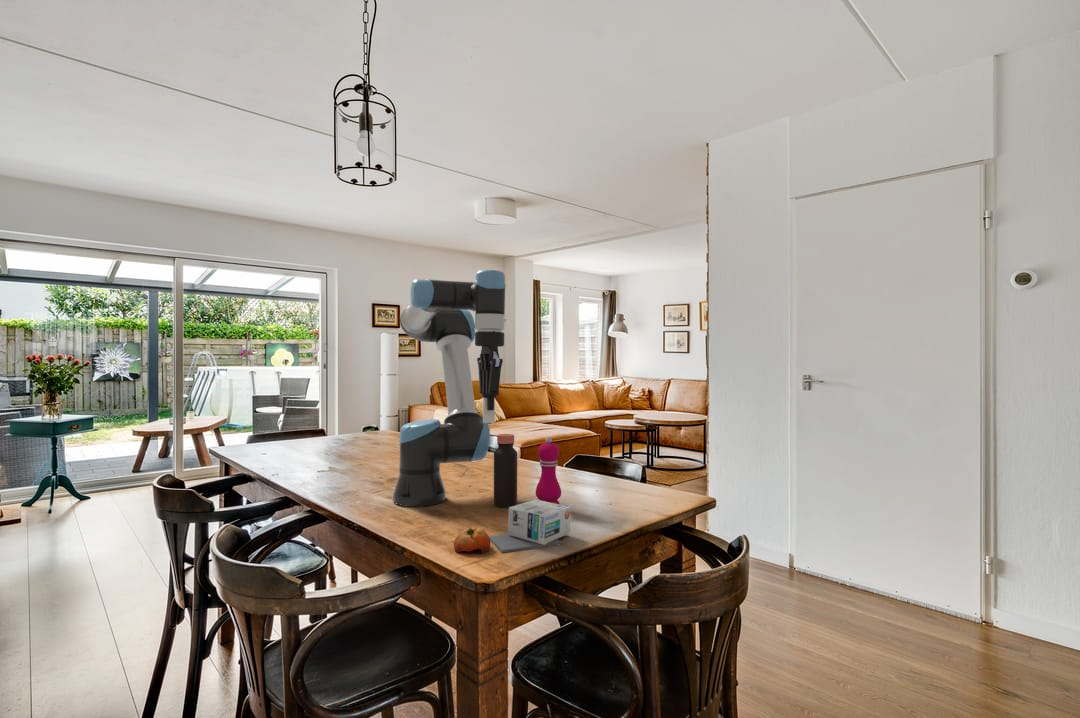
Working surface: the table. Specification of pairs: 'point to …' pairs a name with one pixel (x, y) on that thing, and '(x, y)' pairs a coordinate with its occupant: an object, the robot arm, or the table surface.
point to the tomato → (472, 540)
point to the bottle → (505, 472)
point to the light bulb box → (539, 521)
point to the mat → (516, 543)
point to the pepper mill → (548, 473)
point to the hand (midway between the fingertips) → (488, 422)
